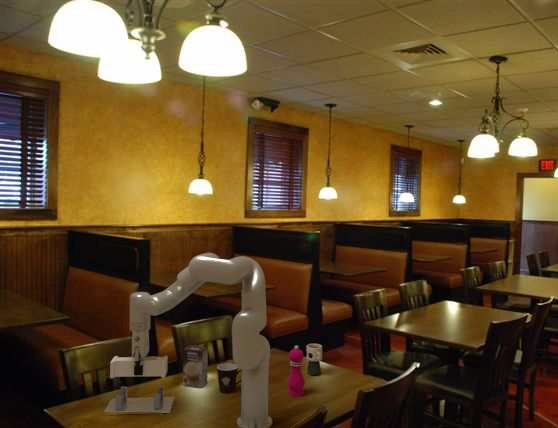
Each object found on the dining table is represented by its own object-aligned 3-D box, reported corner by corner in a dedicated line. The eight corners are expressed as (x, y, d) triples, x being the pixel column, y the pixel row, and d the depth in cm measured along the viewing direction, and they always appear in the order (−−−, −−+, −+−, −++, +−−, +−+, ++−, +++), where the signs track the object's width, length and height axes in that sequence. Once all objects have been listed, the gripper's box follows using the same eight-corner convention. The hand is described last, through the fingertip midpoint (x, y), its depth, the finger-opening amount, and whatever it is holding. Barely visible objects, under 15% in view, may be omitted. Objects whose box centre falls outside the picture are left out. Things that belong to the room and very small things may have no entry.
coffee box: (182, 386, 211) (182, 349, 210) (188, 381, 217) (188, 344, 217) (202, 388, 209) (202, 351, 208) (208, 383, 215) (208, 346, 214)
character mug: (301, 371, 231) (302, 343, 230) (315, 369, 234) (315, 341, 233) (312, 379, 221) (313, 350, 220) (326, 376, 224) (327, 348, 223)
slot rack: (170, 413, 184) (170, 396, 184) (103, 415, 182) (103, 398, 182) (174, 400, 196) (174, 384, 196) (111, 402, 194) (111, 385, 194)
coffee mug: (212, 392, 205) (212, 368, 205) (224, 385, 213) (224, 362, 212) (236, 397, 200) (236, 373, 199) (247, 390, 207) (247, 366, 207)
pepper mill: (303, 397, 200) (303, 348, 200) (285, 396, 202) (286, 347, 201) (305, 390, 207) (306, 343, 207) (288, 389, 209) (289, 342, 208)
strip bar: (164, 377, 186) (165, 360, 186) (110, 378, 185) (110, 360, 184) (167, 370, 193) (167, 354, 193) (114, 371, 192) (114, 354, 191)
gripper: (146, 331, 180) (145, 381, 181) (153, 319, 197) (153, 365, 198) (125, 331, 180) (124, 381, 180) (134, 319, 196) (134, 365, 197)
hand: (139, 372), depth 189 cm, fingers closed on strip bar, 4 cm apart
